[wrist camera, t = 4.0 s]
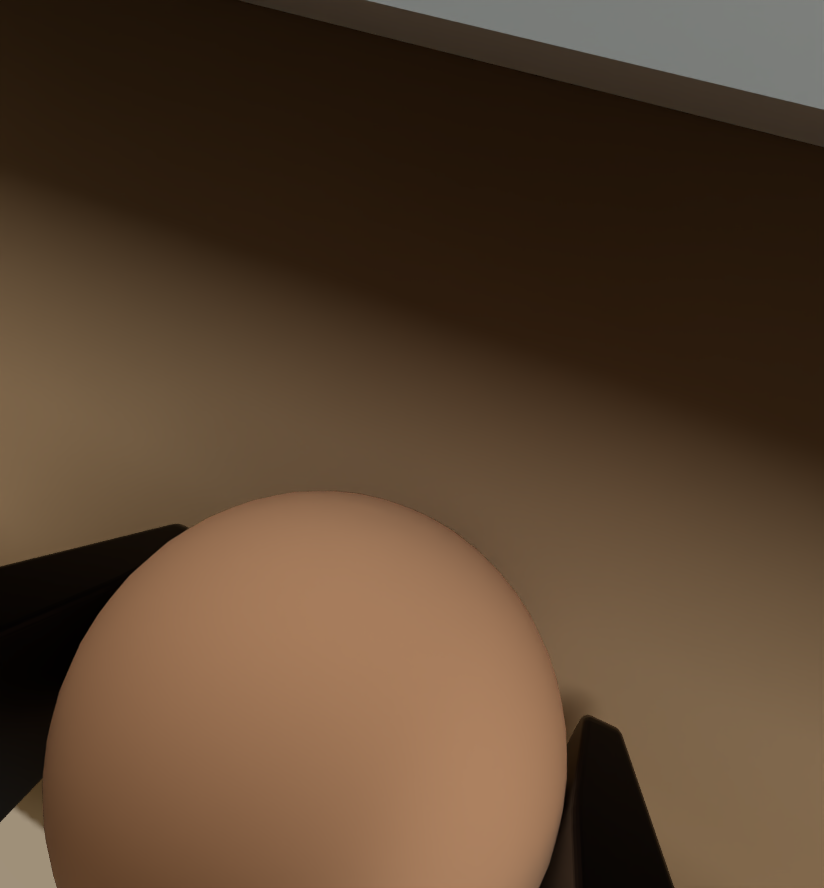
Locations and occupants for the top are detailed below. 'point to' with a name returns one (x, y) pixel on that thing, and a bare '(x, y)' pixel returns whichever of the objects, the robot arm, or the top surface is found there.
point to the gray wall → (628, 49)
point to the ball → (308, 712)
